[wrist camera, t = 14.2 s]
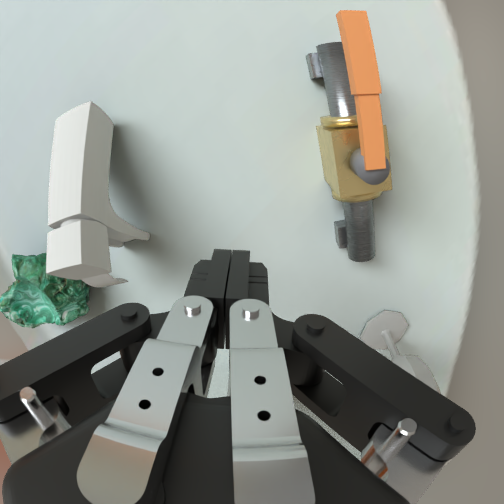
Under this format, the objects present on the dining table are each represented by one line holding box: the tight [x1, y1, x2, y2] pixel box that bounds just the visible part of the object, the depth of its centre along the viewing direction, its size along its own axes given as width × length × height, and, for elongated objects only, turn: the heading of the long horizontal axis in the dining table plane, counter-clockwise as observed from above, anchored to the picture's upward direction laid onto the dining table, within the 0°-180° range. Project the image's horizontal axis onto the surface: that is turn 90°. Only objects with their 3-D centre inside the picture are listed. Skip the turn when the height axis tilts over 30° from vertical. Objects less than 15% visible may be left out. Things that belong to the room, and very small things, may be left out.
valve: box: [306, 42, 392, 262], centre depth 33 cm, size 26×6×8 cm, turn 12°
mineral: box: [0, 253, 90, 328], centre depth 42 cm, size 18×16×10 cm
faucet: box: [46, 101, 150, 287], centre depth 35 cm, size 6×16×20 cm
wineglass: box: [360, 310, 441, 394], centre depth 40 cm, size 9×9×21 cm
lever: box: [336, 10, 390, 185], centre depth 25 cm, size 17×3×4 cm, turn 10°
